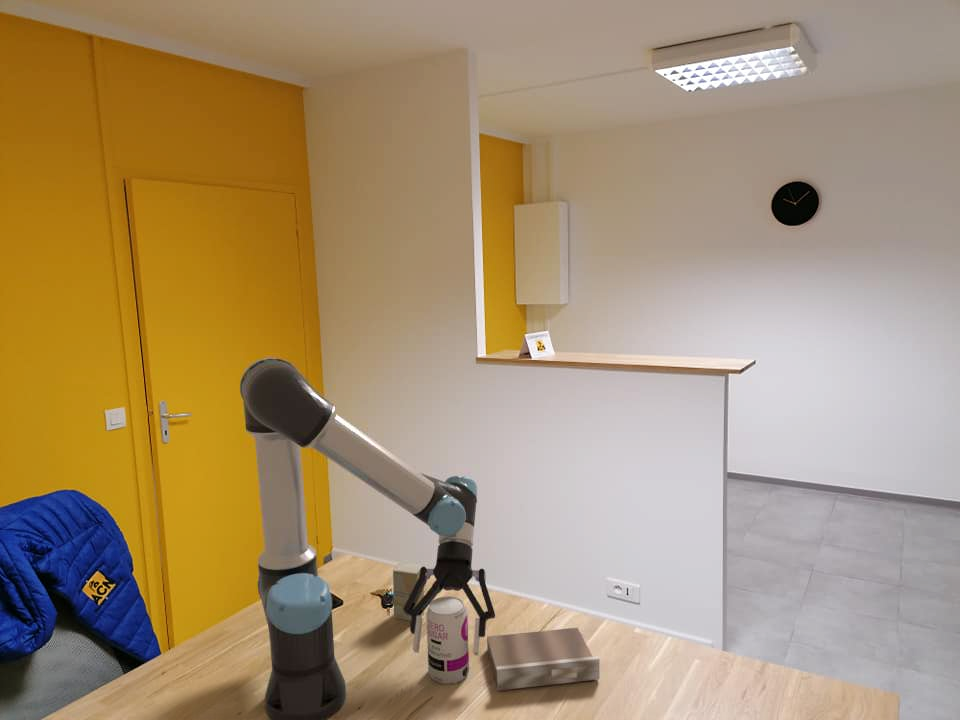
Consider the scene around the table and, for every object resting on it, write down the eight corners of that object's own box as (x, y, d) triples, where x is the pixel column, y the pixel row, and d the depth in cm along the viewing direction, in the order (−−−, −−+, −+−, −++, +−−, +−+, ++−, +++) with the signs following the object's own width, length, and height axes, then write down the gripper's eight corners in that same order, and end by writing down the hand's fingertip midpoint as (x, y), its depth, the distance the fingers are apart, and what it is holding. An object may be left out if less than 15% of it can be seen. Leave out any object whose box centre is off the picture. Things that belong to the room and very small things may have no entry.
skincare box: (393, 618, 164) (391, 570, 162) (400, 609, 168) (398, 561, 166) (418, 622, 162) (416, 573, 160) (425, 613, 166) (423, 564, 164)
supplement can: (470, 662, 146) (468, 595, 143) (466, 686, 138) (464, 616, 135) (432, 661, 146) (429, 594, 144) (425, 685, 138) (423, 615, 136)
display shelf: (498, 693, 135) (497, 670, 134) (486, 649, 150) (485, 628, 149) (599, 682, 138) (599, 659, 137) (578, 640, 153) (578, 619, 152)
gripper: (511, 554, 153) (506, 659, 140) (405, 550, 156) (391, 654, 143) (508, 541, 147) (503, 650, 134) (398, 538, 150) (383, 644, 137)
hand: (445, 652), depth 138 cm, fingers open, 11 cm apart
